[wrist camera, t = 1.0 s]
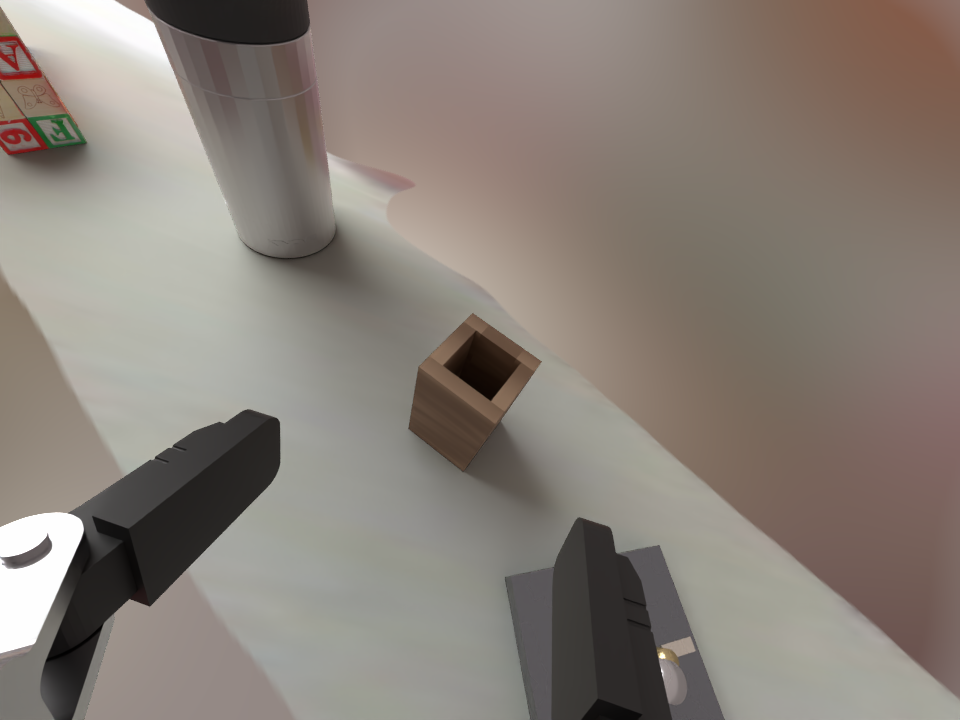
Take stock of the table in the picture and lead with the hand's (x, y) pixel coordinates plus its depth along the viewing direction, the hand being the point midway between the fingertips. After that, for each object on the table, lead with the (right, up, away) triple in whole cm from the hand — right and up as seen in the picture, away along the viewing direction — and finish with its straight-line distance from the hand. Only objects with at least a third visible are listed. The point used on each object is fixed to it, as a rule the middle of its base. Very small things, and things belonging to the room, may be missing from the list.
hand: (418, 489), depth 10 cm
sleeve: (0, -2, +21) cm, 22 cm away
